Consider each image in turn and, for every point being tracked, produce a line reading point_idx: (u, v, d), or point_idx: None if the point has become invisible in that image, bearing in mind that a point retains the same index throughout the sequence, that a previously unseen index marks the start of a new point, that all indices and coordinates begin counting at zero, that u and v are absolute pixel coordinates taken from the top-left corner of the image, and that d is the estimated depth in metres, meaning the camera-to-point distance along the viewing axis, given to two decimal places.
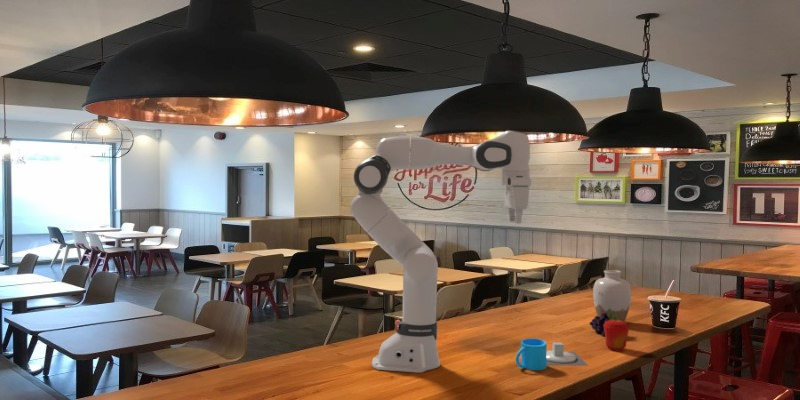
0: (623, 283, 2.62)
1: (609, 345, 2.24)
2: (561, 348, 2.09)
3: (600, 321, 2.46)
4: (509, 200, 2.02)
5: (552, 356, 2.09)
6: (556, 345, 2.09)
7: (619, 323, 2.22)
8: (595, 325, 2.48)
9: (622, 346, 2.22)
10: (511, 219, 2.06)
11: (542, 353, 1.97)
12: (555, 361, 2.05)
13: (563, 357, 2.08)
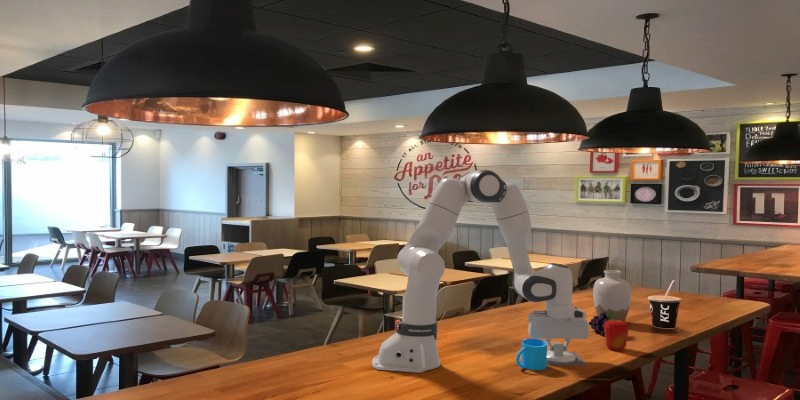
0: (623, 283, 2.62)
1: (609, 345, 2.24)
2: (561, 348, 2.09)
3: (599, 321, 2.46)
4: (557, 331, 2.09)
5: (552, 356, 2.09)
6: (556, 345, 2.09)
7: (619, 323, 2.22)
8: (594, 325, 2.48)
9: (622, 346, 2.22)
10: None
11: (543, 354, 1.97)
12: (555, 361, 2.05)
13: (563, 357, 2.08)
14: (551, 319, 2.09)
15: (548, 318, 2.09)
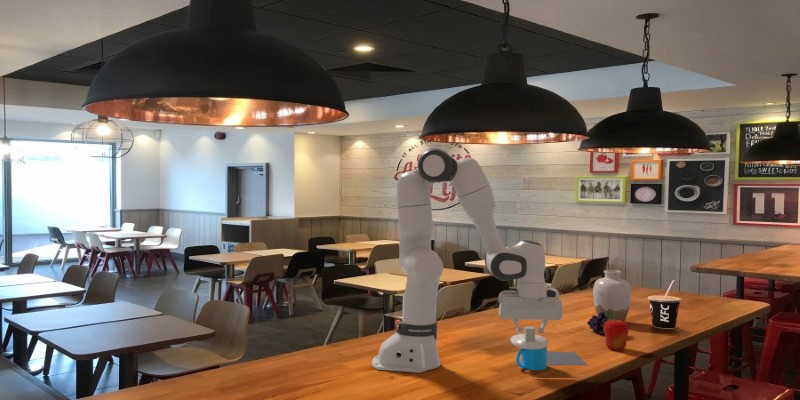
0: (623, 283, 2.62)
1: (609, 345, 2.24)
2: (533, 333, 1.98)
3: (597, 320, 2.47)
4: (529, 311, 1.97)
5: (523, 341, 1.98)
6: (527, 330, 1.98)
7: (619, 323, 2.22)
8: (593, 324, 2.49)
9: (622, 346, 2.22)
10: None
11: (542, 353, 1.97)
12: (526, 347, 1.94)
13: (535, 342, 1.97)
14: (522, 299, 1.97)
15: (519, 298, 1.97)
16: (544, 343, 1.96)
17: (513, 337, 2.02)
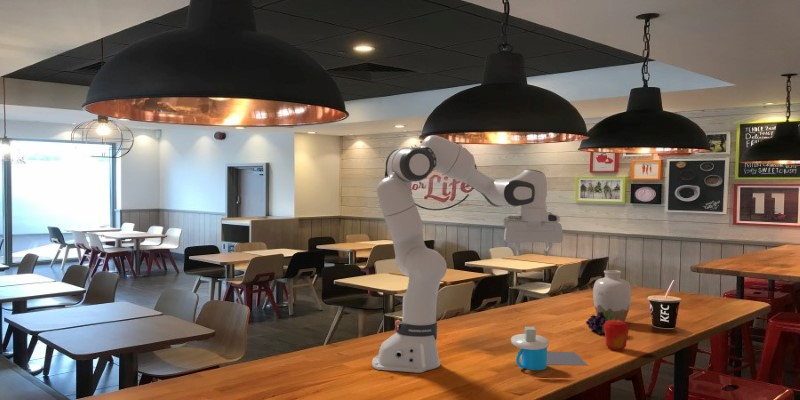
0: (623, 283, 2.62)
1: (609, 345, 2.24)
2: (533, 333, 1.98)
3: (596, 320, 2.48)
4: (532, 235, 2.14)
5: (523, 341, 1.98)
6: (528, 330, 1.98)
7: (619, 323, 2.22)
8: (591, 324, 2.49)
9: (622, 346, 2.22)
10: None
11: (543, 354, 1.97)
12: (526, 348, 1.94)
13: (535, 343, 1.97)
14: (526, 223, 2.14)
15: (523, 222, 2.14)
16: (544, 343, 1.96)
17: (513, 337, 2.02)
